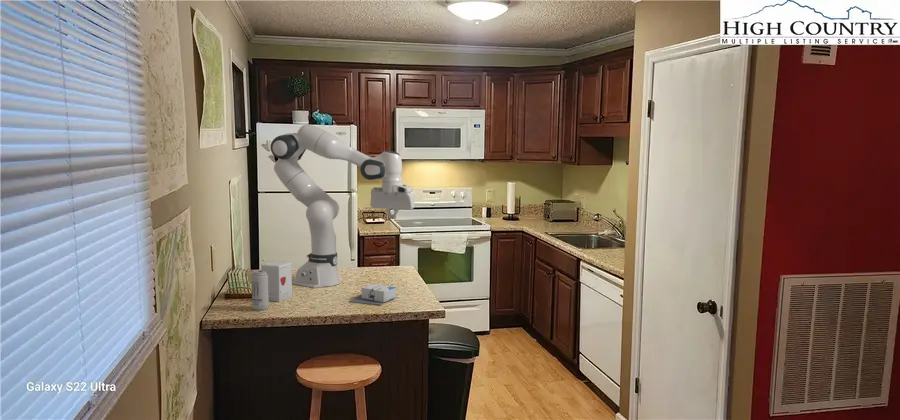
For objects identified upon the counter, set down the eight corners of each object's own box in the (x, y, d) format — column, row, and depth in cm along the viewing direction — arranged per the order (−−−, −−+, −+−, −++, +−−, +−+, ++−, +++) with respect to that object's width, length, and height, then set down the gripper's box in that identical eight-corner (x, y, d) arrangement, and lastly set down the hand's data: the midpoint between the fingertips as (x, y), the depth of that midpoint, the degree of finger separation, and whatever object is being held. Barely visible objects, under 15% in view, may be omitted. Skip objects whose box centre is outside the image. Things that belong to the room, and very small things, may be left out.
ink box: (396, 298, 240) (373, 294, 246) (396, 286, 239) (373, 282, 245) (383, 302, 232) (361, 299, 238) (383, 290, 232) (360, 287, 238)
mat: (349, 302, 235) (348, 301, 235) (363, 294, 247) (363, 293, 247) (380, 305, 230) (380, 304, 230) (393, 297, 242) (393, 296, 242)
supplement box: (279, 302, 233) (278, 266, 232) (261, 300, 236) (260, 264, 235) (293, 296, 242) (292, 261, 240) (275, 294, 245) (274, 260, 243)
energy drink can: (249, 310, 223) (247, 272, 221) (260, 306, 228) (258, 269, 226) (261, 312, 220) (260, 273, 218) (272, 308, 226) (271, 270, 224)
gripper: (367, 187, 254) (368, 218, 256) (410, 189, 248) (410, 220, 249) (374, 186, 260) (374, 216, 262) (415, 188, 254) (415, 219, 255)
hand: (392, 218), depth 256 cm, fingers closed
